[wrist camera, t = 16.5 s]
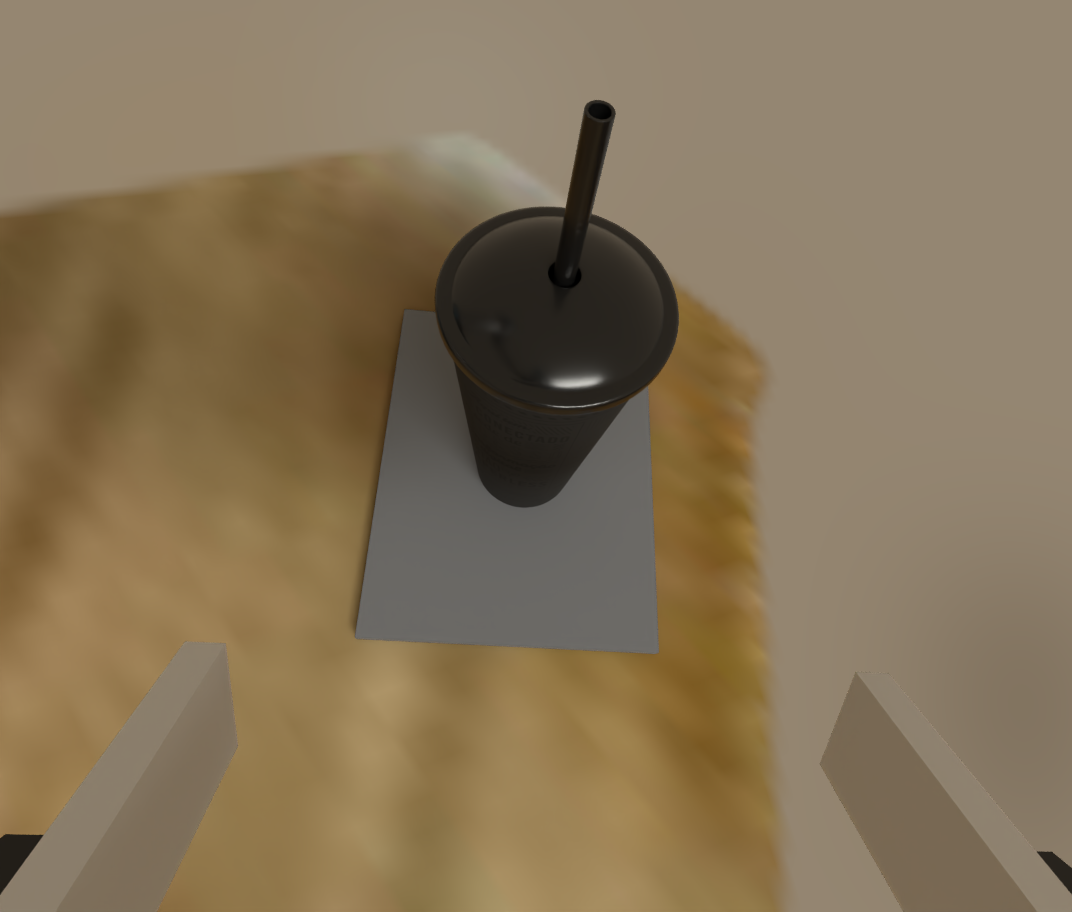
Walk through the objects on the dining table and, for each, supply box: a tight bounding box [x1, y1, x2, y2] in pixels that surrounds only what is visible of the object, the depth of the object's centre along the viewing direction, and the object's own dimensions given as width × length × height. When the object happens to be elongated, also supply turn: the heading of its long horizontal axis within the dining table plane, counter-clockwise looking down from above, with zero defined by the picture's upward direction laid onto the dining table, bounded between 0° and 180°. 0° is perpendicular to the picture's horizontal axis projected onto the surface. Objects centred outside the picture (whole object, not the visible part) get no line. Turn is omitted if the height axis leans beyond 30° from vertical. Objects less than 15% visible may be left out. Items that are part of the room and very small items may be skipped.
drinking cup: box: [435, 100, 679, 508], centre depth 22 cm, size 8×8×20 cm
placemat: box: [355, 309, 659, 654], centre depth 31 cm, size 14×18×1 cm
